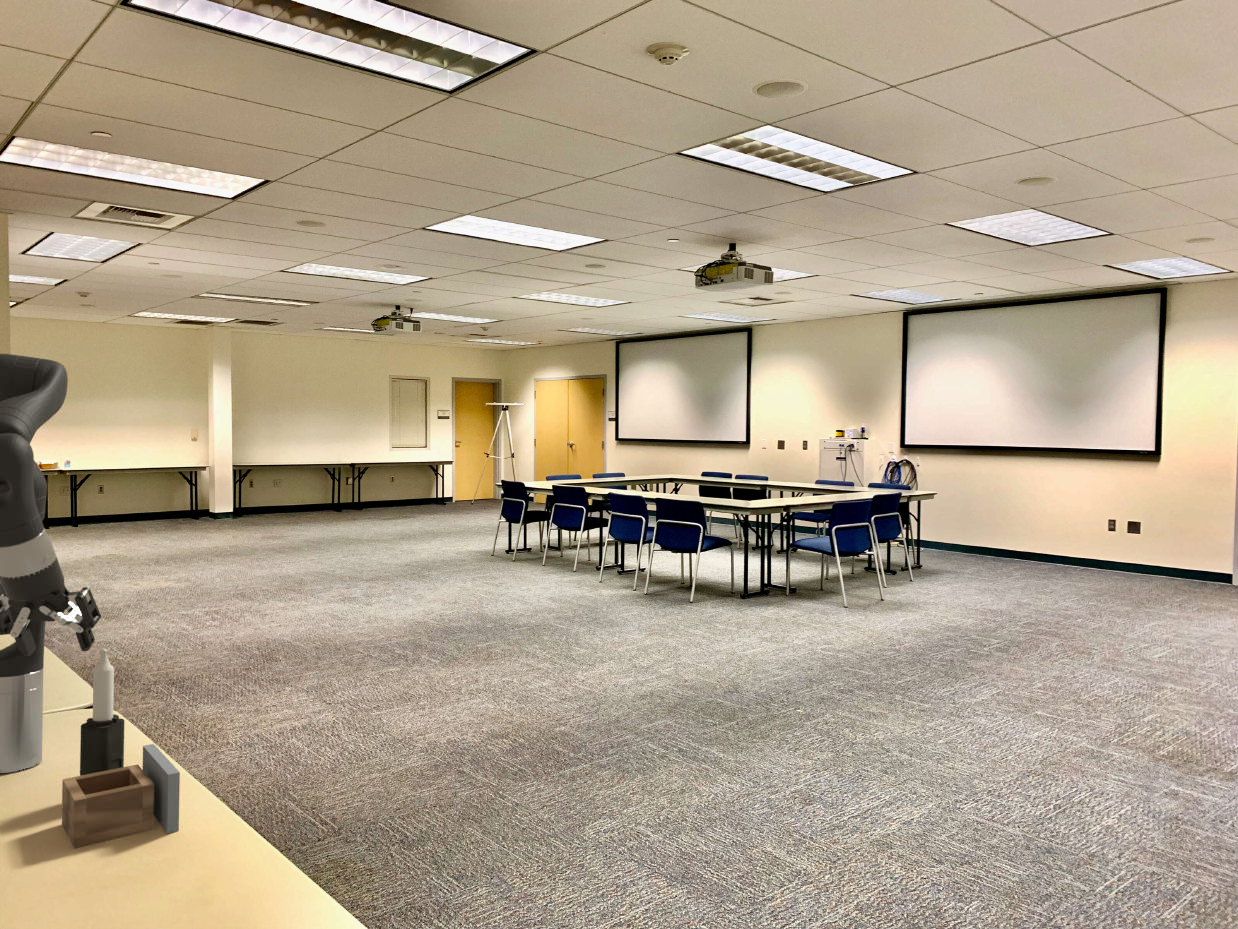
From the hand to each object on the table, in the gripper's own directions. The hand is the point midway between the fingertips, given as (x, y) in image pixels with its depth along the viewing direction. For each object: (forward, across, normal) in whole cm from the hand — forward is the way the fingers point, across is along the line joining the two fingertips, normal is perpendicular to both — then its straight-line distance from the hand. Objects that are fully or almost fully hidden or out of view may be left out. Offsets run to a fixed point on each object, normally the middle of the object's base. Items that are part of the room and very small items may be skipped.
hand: (59, 650), depth 134 cm
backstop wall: (+26, -12, +10) cm, 31 cm away
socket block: (+24, -7, +14) cm, 28 cm away
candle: (+28, 0, +4) cm, 28 cm away
